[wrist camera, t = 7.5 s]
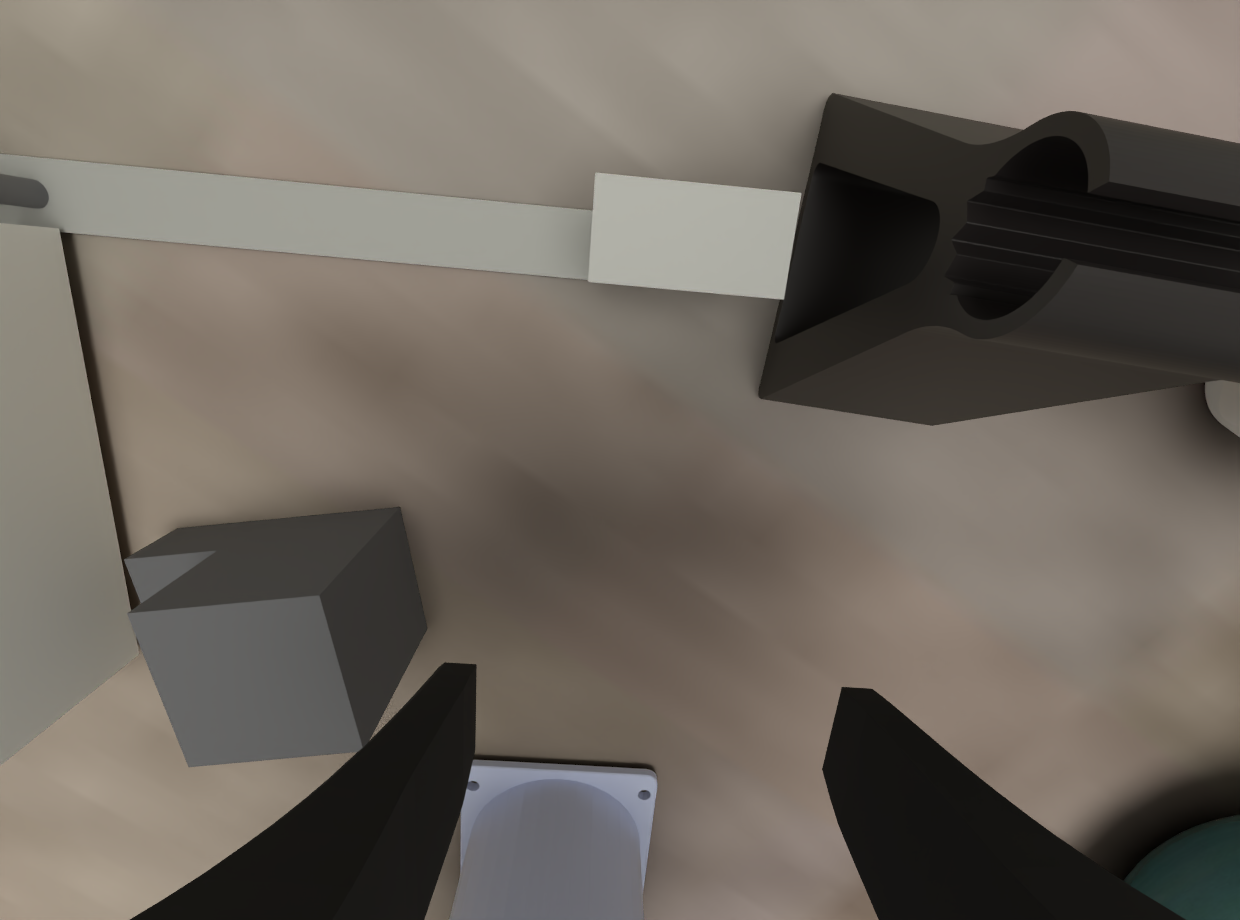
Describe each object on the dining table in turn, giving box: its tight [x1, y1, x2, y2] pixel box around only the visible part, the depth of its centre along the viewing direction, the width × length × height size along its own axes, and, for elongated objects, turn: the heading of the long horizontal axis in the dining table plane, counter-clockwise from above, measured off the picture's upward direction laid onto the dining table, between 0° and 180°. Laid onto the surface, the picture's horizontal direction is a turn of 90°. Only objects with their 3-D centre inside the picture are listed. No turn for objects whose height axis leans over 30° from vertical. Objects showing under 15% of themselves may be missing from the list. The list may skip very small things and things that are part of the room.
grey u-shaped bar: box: [0, 154, 801, 300], centre depth 14 cm, size 2×26×7 cm, turn 85°
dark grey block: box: [124, 507, 427, 767], centre depth 18 cm, size 5×8×6 cm, turn 95°
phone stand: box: [759, 93, 1240, 426], centre depth 13 cm, size 9×6×12 cm, turn 170°
